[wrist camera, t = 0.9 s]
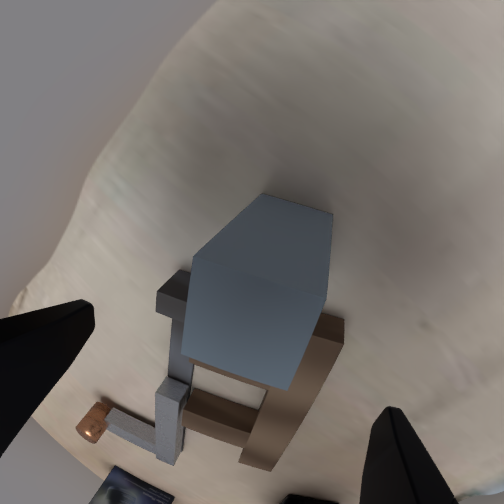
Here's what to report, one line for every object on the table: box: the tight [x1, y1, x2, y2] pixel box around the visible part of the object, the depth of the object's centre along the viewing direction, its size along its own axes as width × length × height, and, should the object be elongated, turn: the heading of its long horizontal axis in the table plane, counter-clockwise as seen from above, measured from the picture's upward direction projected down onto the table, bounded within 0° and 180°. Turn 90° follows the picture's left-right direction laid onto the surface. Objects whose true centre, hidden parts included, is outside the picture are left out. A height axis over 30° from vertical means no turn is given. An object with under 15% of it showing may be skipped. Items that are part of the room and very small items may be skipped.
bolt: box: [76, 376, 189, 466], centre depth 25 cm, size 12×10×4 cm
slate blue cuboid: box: [181, 194, 333, 391], centre depth 14 cm, size 4×4×9 cm
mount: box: [156, 270, 344, 472], centre depth 23 cm, size 22×11×3 cm, turn 168°
